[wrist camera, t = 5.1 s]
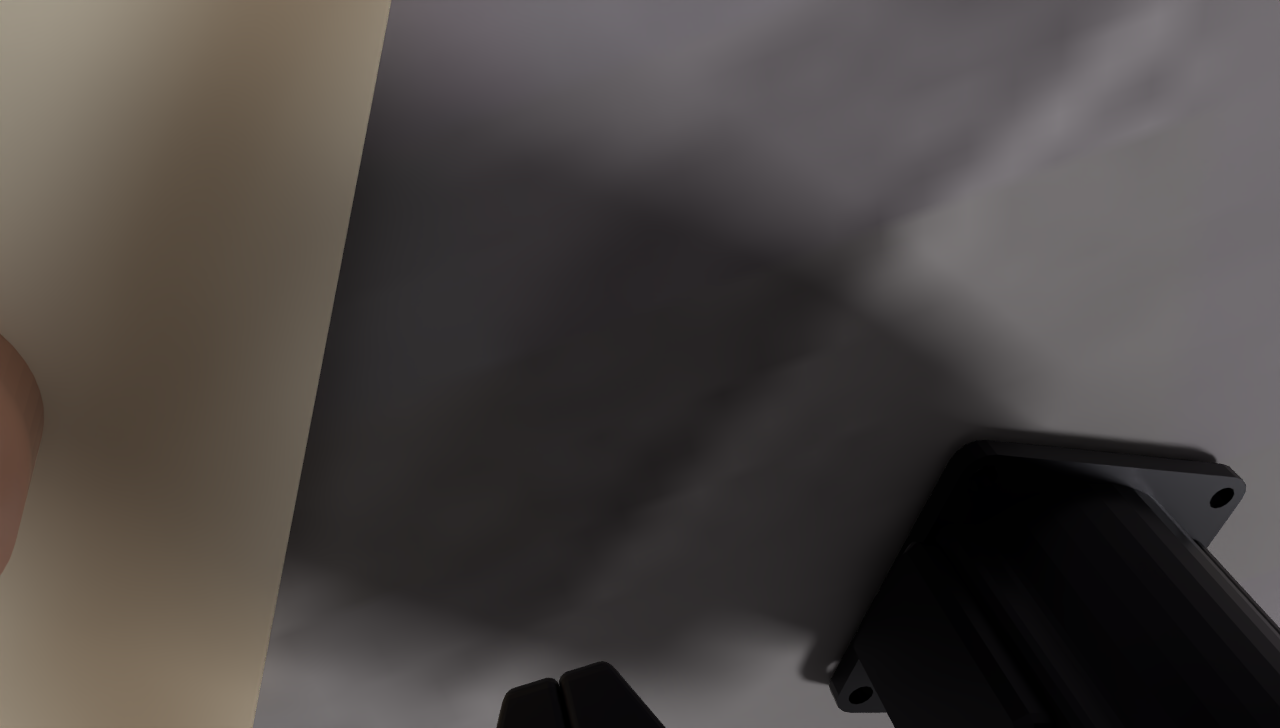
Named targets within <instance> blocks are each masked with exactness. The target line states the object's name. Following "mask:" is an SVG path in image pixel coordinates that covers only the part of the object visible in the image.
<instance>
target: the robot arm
mask: <svg viewBox="0 0 1280 728" xmlns="http://www.w3.org/2000/svg"><path fill="white" fill-rule="evenodd" d="M981 468H982V469H981ZM979 469H981V470H979ZM977 470H979V471H977ZM976 471H977V472H976ZM1245 491H1246V484H1245V483H1244V481H1243V480H1242V479H1241V478H1240V477H1239V476H1238V475H1237V474H1236V473H1235V472H1234V471H1233V470H1232V469H1231V468H1230V467H1229V466H1227V465H1224V464H1217V463H1207V462H1198V461H1188V460H1178V459H1168V458H1158V457H1148V456H1138V455H1128V454H1118V453H1109V452H1099V451H1089V450H1079V449H1069V448H1059V447H1049V446H1039V445H1029V444H1020V443H1010V442H1000V441H990V440H981V441H975V442H972V443H970V444H967V445H965V446H964V447H962V448H961V449H960V450H958V451H957V452H956V453H955V454H954V456H953V457H952V458H951V460H950V461H949V463H948V465H947V466H946V468H945V470H944V472H943V474H942V476H941V478H940V479H939V481H938V483H937V485H936V487H935V489H934V490H933V492H932V494H931V496H930V498H929V500H928V501H927V503H926V505H925V507H924V509H923V511H922V513H921V514H920V516H919V518H918V520H917V522H916V524H915V525H914V527H913V529H912V531H911V533H910V535H909V536H908V538H907V540H906V542H905V544H904V546H903V548H902V549H901V551H900V553H899V555H898V557H897V559H896V560H895V562H894V564H893V566H892V568H891V570H890V571H889V573H888V575H887V577H886V579H885V581H884V583H883V584H882V586H881V588H880V590H879V592H878V594H877V595H876V597H875V599H874V601H873V603H872V605H871V606H870V608H869V610H868V612H867V614H866V616H865V617H864V619H863V621H862V623H861V625H860V627H859V629H858V630H857V632H856V634H855V636H854V638H853V640H852V641H851V643H850V645H849V647H848V649H847V651H846V652H845V654H844V656H843V658H842V660H841V662H840V664H839V665H838V667H837V669H836V671H835V673H834V675H833V676H832V678H831V681H830V684H829V688H830V691H831V693H832V695H833V697H834V699H835V702H836V704H837V706H838V708H840V709H841V710H842V711H844V712H850V713H880V712H887V714H888V716H889V717H890V719H891V721H892V723H893V725H894V727H895V728H1280V628H1279V627H1278V626H1277V625H1276V624H1275V622H1274V621H1273V620H1272V619H1271V618H1270V617H1269V616H1268V615H1267V614H1266V613H1265V612H1264V610H1263V609H1262V608H1261V607H1260V606H1259V605H1258V604H1257V603H1256V602H1255V601H1254V600H1253V598H1252V597H1251V596H1250V595H1249V594H1248V593H1247V592H1246V591H1245V590H1244V589H1243V588H1242V587H1241V585H1240V584H1239V583H1238V582H1237V581H1236V580H1235V579H1234V578H1233V577H1232V576H1231V575H1230V573H1229V572H1228V571H1227V570H1226V569H1225V568H1224V567H1223V566H1222V565H1221V564H1220V563H1219V561H1218V560H1217V559H1216V558H1215V557H1214V556H1213V555H1212V554H1211V553H1210V552H1209V551H1208V550H1207V547H1208V546H1209V544H1210V543H1211V541H1212V540H1213V539H1214V537H1215V536H1216V534H1217V533H1218V532H1219V530H1220V529H1221V527H1222V526H1223V525H1224V523H1225V522H1226V520H1227V519H1228V518H1229V516H1230V515H1231V513H1232V512H1233V511H1234V509H1235V508H1236V507H1237V505H1238V504H1239V502H1240V501H1241V499H1242V498H1243V496H1244V494H1245ZM559 685H560V686H559ZM496 728H665V726H664V725H663V724H662V723H661V722H660V721H659V719H658V718H657V717H656V716H655V715H654V713H653V712H652V711H651V710H650V709H649V708H648V706H647V705H646V704H645V703H644V702H643V701H642V699H641V698H640V697H639V696H638V695H637V694H636V692H635V691H634V690H633V689H632V688H631V687H630V685H629V684H628V683H627V682H626V681H625V679H624V678H623V677H622V676H621V675H620V674H619V672H618V671H617V670H616V669H615V668H614V667H613V666H612V665H611V664H609V663H607V662H604V661H601V662H597V663H593V664H590V665H587V666H584V667H580V668H577V669H574V670H571V671H567V672H565V673H564V674H563V675H562V676H561V677H560V680H559V684H558V682H557V681H556V680H555V679H553V678H545V679H541V680H538V681H535V682H532V683H528V684H525V685H522V686H519V687H515V688H513V689H511V690H509V691H508V692H507V693H506V695H505V697H504V699H503V702H502V706H501V710H500V714H499V719H498V723H497V727H496Z"/></svg>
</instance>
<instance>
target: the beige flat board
mask: <svg viewBox="0 0 1280 728" xmlns="http://www.w3.org/2000/svg"><path fill="white" fill-rule="evenodd" d="M390 5H391V0H0V334H1V335H2V336H3V337H4V338H5V339H6V340H7V341H8V342H9V343H10V344H11V345H12V346H13V347H14V348H15V349H16V350H17V352H18V353H19V354H20V355H21V357H22V358H23V359H24V360H25V362H26V363H27V365H28V367H29V369H30V370H31V372H32V374H33V375H34V377H35V380H36V382H37V385H38V387H39V390H40V393H41V397H42V402H43V407H44V427H43V433H42V439H41V443H40V447H39V451H38V455H37V459H36V463H35V467H34V471H33V475H32V479H31V483H30V487H29V491H28V495H27V499H26V502H25V506H24V510H23V514H22V518H21V522H20V526H19V530H18V534H17V538H16V542H15V546H14V549H13V552H12V554H11V557H10V560H9V562H8V563H7V565H6V567H5V569H4V571H3V572H2V574H1V575H0V728H252V727H253V722H254V717H255V712H256V706H257V701H258V696H259V691H260V685H261V680H262V675H263V670H264V665H265V659H266V654H267V649H268V644H269V638H270V633H271V628H272V623H273V617H274V612H275V607H276V602H277V597H278V591H279V586H280V581H281V576H282V570H283V565H284V560H285V555H286V549H287V544H288V539H289V534H290V528H291V523H292V518H293V513H294V508H295V502H296V497H297V492H298V487H299V481H300V476H301V471H302V466H303V460H304V455H305V450H306V445H307V439H308V434H309V429H310V424H311V419H312V413H313V408H314V403H315V398H316V392H317V387H318V382H319V377H320V371H321V366H322V361H323V356H324V350H325V345H326V340H327V335H328V330H329V324H330V319H331V314H332V309H333V303H334V298H335V293H336V288H337V282H338V277H339V272H340V267H341V262H342V256H343V251H344V246H345V241H346V235H347V230H348V225H349V220H350V214H351V209H352V204H353V199H354V193H355V188H356V183H357V178H358V173H359V167H360V162H361V157H362V152H363V146H364V141H365V136H366V131H367V125H368V120H369V115H370V110H371V104H372V99H373V94H374V89H375V84H376V78H377V73H378V68H379V63H380V57H381V52H382V47H383V42H384V36H385V31H386V26H387V21H388V16H389V10H390Z"/></svg>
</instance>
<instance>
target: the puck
mask: <svg viewBox="0 0 1280 728" xmlns="http://www.w3.org/2000/svg"><path fill="white" fill-rule="evenodd" d="M43 427H44V407H43V402H42V397H41V393H40V390H39V387H38V385H37V382H36V380H35V377H34V375H33V374H32V372H31V370H30V369H29V367H28V365H27V363H26V362H25V360H24V359H23V358H22V357H21V355H20V354H19V353H18V352H17V350H16V349H15V348H14V347H13V346H12V345H11V344H10V343H9V342H8V341H7V340H6V339H5V338H4V337H3V336H2V335H1V334H0V575H1V574H2V572H3V571H4V569H5V567H6V565H7V563H8V562H9V560H10V557H11V554H12V552H13V549H14V546H15V542H16V538H17V534H18V530H19V526H20V522H21V518H22V514H23V510H24V506H25V502H26V499H27V495H28V491H29V487H30V483H31V479H32V475H33V471H34V467H35V463H36V459H37V455H38V451H39V447H40V443H41V439H42V433H43Z"/></svg>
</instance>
